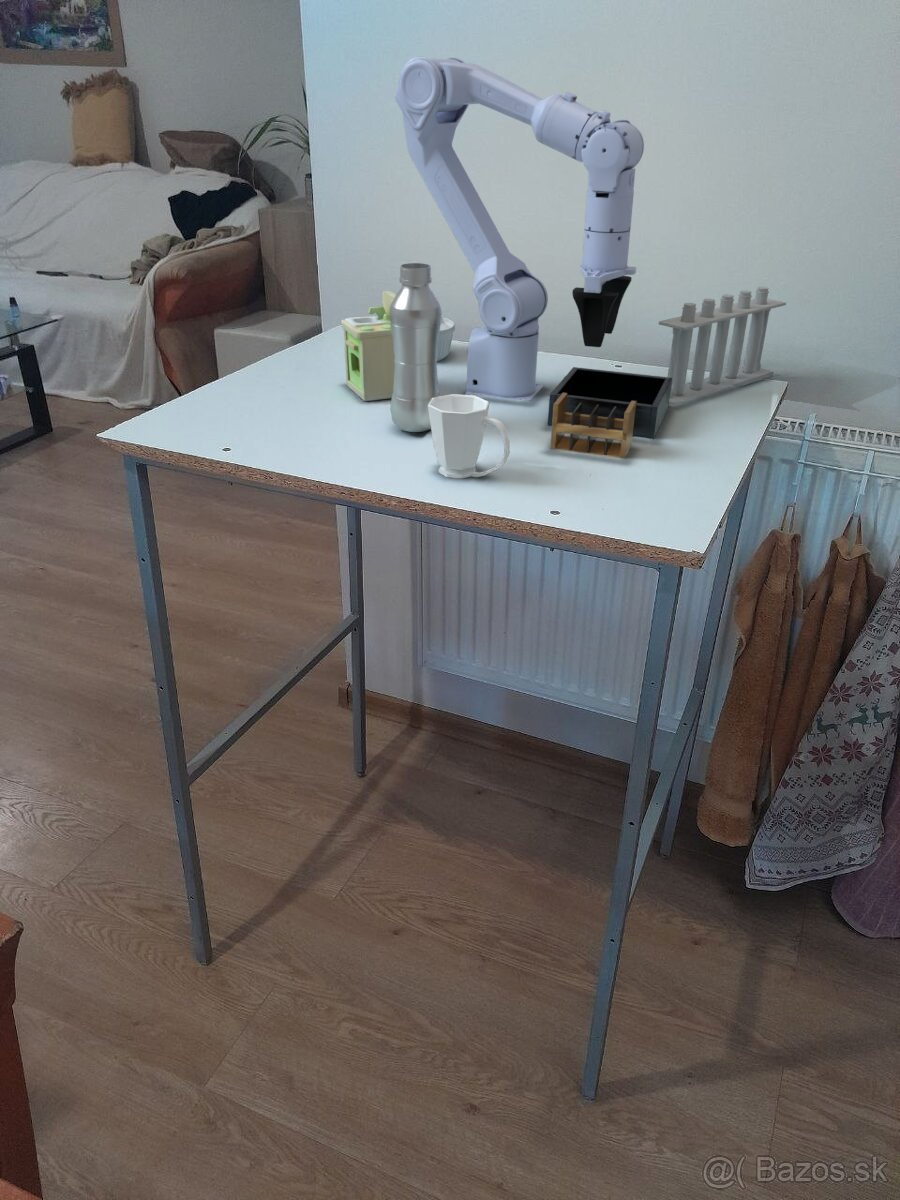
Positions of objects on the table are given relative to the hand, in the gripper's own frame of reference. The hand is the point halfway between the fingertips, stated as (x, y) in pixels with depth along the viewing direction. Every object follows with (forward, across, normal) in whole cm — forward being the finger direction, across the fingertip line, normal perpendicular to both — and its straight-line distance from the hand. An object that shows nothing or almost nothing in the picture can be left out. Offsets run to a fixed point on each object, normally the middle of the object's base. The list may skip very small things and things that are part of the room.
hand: (598, 339), depth 124 cm
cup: (+10, -29, +8) cm, 32 cm away
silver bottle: (+9, -17, +20) cm, 27 cm away
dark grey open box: (+10, -4, -3) cm, 11 cm away
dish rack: (+10, -16, -3) cm, 19 cm away
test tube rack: (+10, +16, -15) cm, 24 cm away
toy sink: (+9, -4, +30) cm, 32 cm away
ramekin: (+9, +16, +32) cm, 37 cm away
